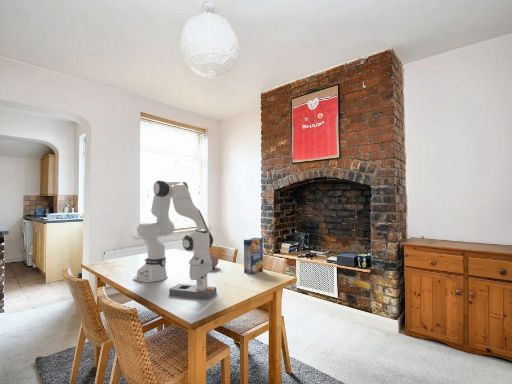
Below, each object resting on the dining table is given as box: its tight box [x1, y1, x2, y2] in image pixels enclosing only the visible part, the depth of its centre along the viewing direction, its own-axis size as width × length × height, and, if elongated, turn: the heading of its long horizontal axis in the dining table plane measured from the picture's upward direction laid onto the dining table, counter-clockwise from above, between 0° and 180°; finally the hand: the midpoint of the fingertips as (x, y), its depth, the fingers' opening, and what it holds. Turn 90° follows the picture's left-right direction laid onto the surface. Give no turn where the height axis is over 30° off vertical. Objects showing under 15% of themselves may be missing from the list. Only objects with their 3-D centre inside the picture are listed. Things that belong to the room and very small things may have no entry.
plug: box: [196, 276, 208, 291], centre depth 153 cm, size 4×4×10 cm
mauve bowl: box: [210, 252, 220, 269], centre depth 213 cm, size 12×12×12 cm
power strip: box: [168, 283, 217, 300], centre depth 154 cm, size 24×10×5 cm, turn 74°
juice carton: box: [243, 237, 264, 275], centre depth 202 cm, size 12×8×24 cm, turn 135°
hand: (201, 283), depth 153 cm, fingers closed on plug, 4 cm apart
